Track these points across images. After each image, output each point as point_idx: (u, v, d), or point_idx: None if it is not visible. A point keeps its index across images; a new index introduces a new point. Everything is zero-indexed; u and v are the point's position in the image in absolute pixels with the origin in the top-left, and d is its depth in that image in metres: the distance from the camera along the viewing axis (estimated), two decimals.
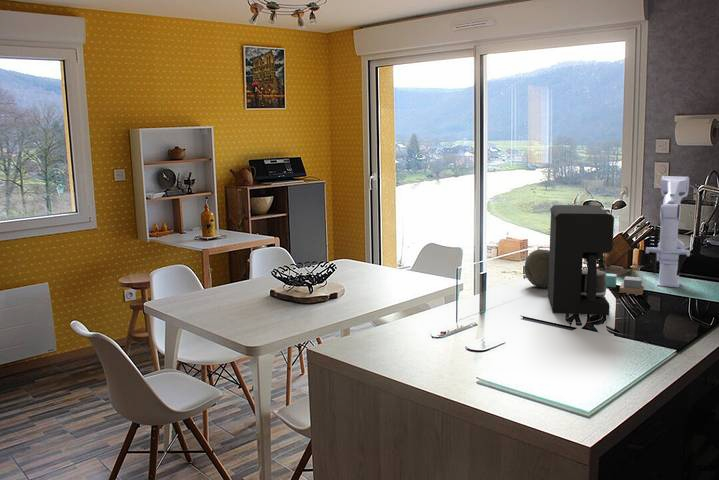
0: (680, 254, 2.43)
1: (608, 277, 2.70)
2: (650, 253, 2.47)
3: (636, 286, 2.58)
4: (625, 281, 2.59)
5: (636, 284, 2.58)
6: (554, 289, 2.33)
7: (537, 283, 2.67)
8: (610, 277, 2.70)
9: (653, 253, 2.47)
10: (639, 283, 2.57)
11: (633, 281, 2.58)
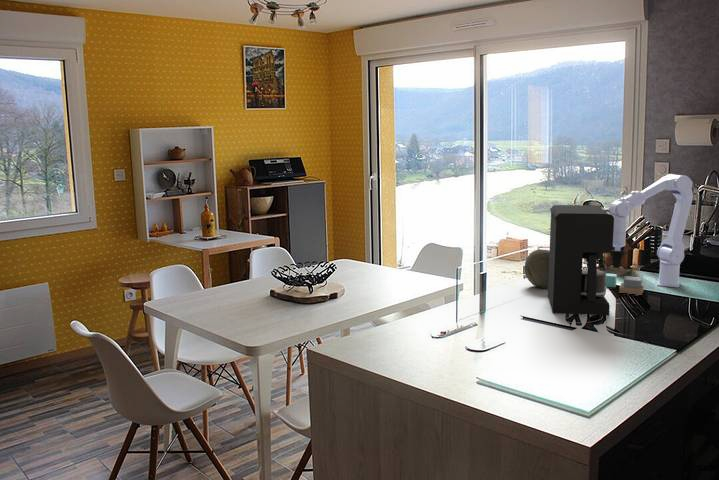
0: None
1: (608, 277, 2.70)
2: None
3: (636, 286, 2.58)
4: (625, 281, 2.59)
5: (636, 284, 2.58)
6: (554, 289, 2.33)
7: (537, 283, 2.67)
8: (610, 277, 2.70)
9: None
10: (639, 283, 2.57)
11: (633, 281, 2.58)
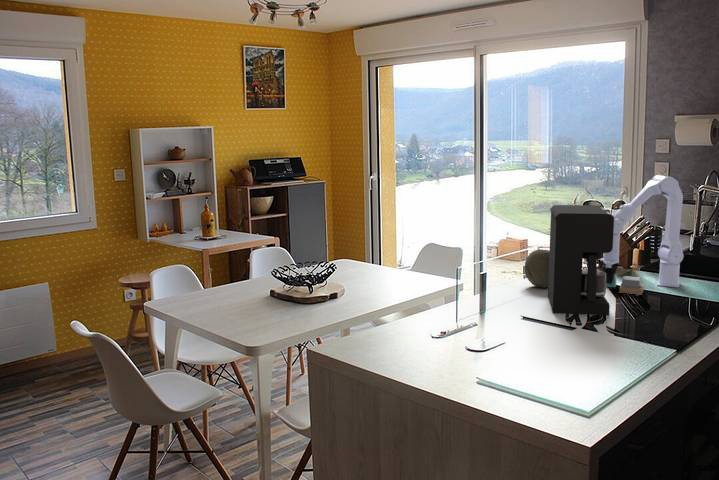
0: None
1: None
2: None
3: (634, 286, 2.58)
4: (623, 281, 2.60)
5: (635, 283, 2.58)
6: (554, 289, 2.33)
7: (537, 283, 2.67)
8: None
9: None
10: (637, 283, 2.58)
11: (631, 281, 2.58)
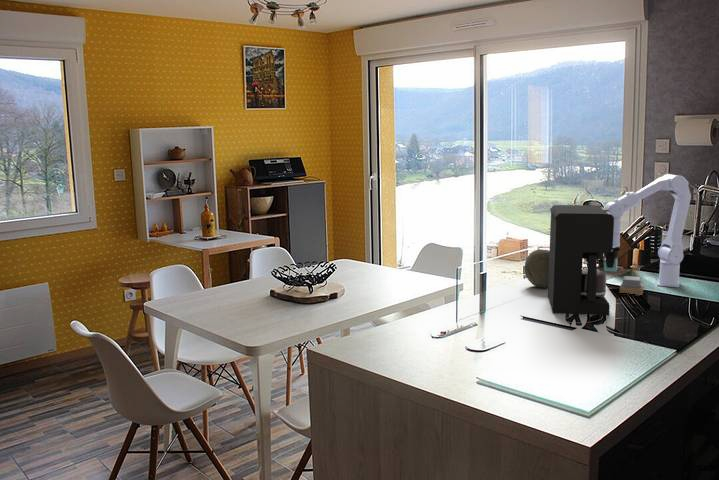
0: None
1: None
2: None
3: (635, 286, 2.58)
4: (624, 281, 2.59)
5: (635, 283, 2.58)
6: (554, 289, 2.33)
7: (537, 283, 2.67)
8: None
9: None
10: (638, 283, 2.57)
11: (632, 281, 2.58)
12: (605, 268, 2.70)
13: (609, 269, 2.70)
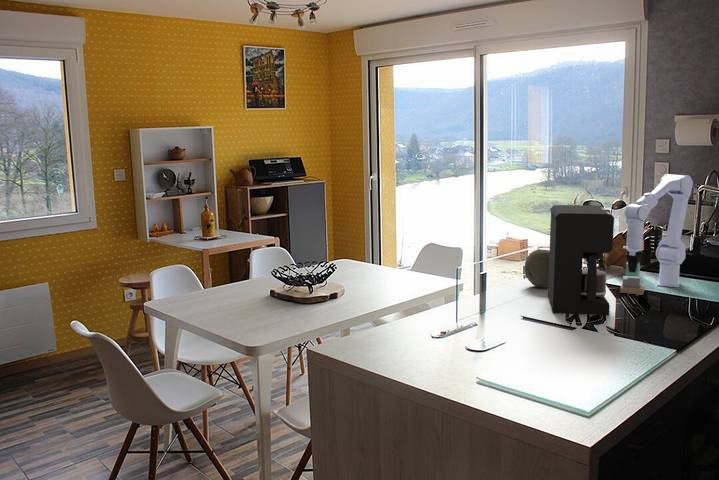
0: None
1: None
2: None
3: (635, 285, 2.59)
4: (624, 281, 2.60)
5: (635, 283, 2.58)
6: (554, 289, 2.33)
7: (537, 283, 2.67)
8: None
9: None
10: (638, 282, 2.58)
11: (632, 280, 2.59)
12: (626, 273, 2.59)
13: (631, 274, 2.59)
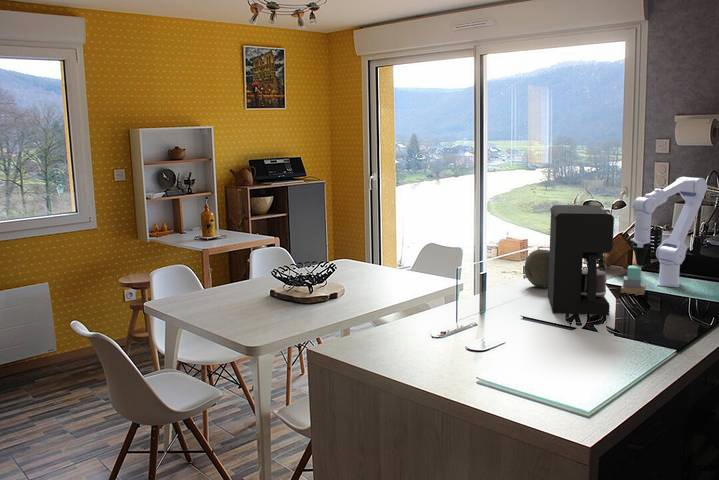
0: None
1: (632, 269, 2.58)
2: None
3: (636, 286, 2.58)
4: (625, 281, 2.60)
5: (636, 283, 2.58)
6: (554, 289, 2.33)
7: (537, 283, 2.67)
8: (635, 269, 2.58)
9: None
10: (639, 283, 2.58)
11: (633, 281, 2.59)
12: (628, 277, 2.59)
13: (633, 278, 2.59)
